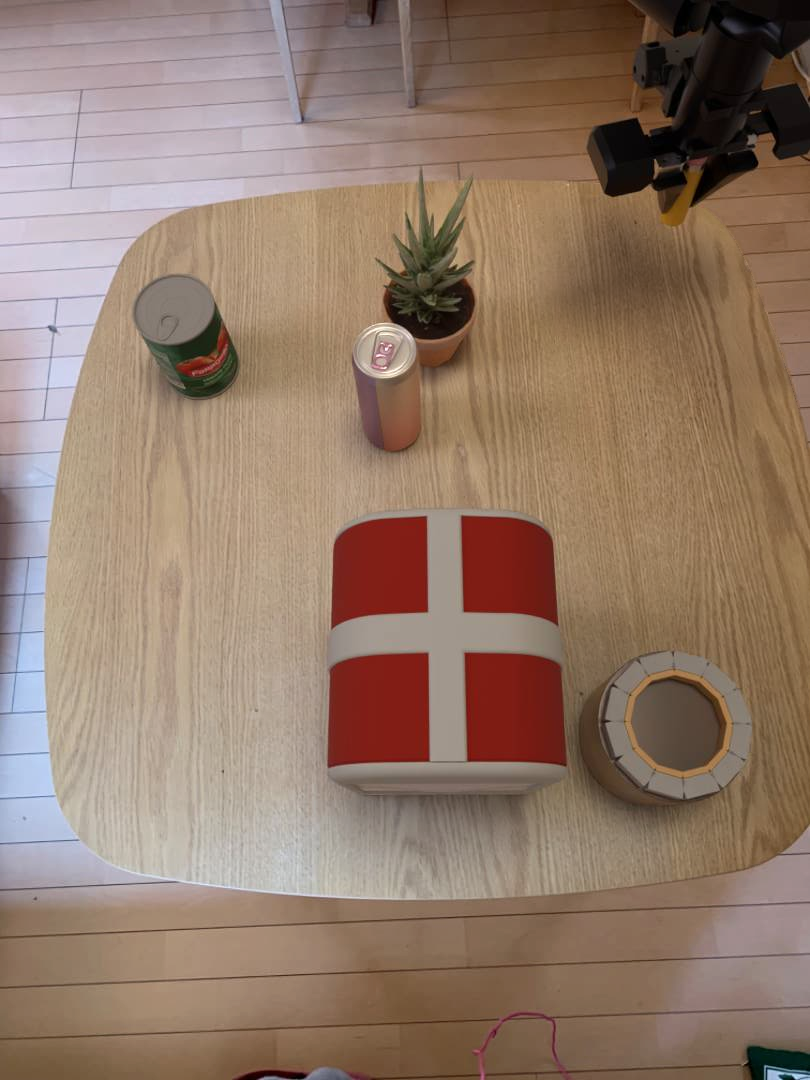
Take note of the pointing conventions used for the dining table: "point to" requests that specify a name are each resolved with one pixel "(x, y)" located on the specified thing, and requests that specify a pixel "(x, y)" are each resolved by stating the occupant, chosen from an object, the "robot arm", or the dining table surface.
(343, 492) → the dining table surface
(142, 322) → the canned tomato
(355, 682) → the red gift box
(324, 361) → the dining table surface
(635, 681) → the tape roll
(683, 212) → the pencil
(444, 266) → the potted plant
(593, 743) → the brown cylindrical pot
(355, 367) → the beverage can
